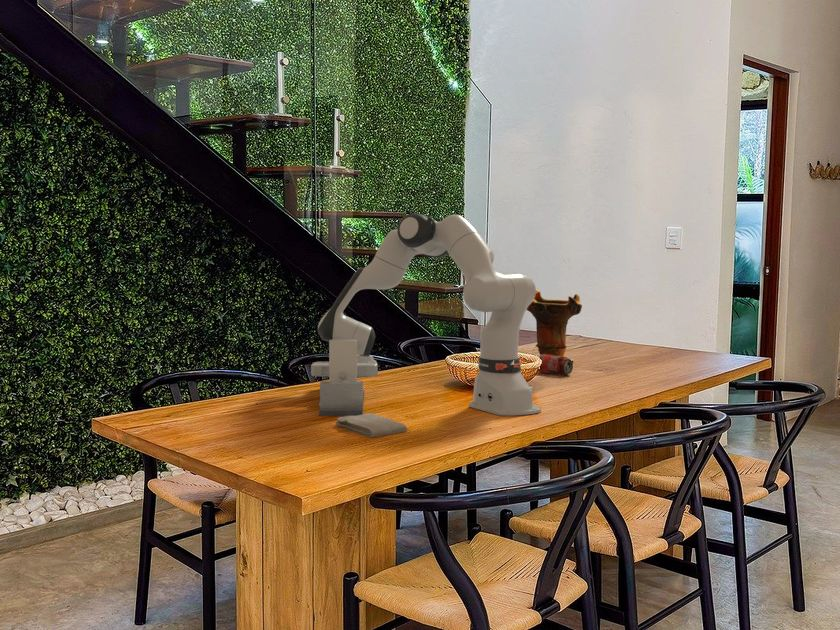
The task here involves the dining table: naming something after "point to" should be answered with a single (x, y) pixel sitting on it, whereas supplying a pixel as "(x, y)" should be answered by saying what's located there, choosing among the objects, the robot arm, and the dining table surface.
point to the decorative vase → (553, 322)
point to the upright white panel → (342, 360)
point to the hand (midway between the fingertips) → (343, 373)
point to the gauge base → (341, 398)
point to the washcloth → (370, 425)
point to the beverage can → (555, 365)
